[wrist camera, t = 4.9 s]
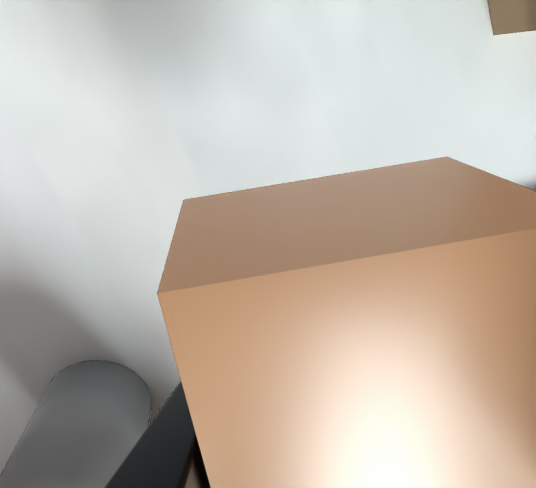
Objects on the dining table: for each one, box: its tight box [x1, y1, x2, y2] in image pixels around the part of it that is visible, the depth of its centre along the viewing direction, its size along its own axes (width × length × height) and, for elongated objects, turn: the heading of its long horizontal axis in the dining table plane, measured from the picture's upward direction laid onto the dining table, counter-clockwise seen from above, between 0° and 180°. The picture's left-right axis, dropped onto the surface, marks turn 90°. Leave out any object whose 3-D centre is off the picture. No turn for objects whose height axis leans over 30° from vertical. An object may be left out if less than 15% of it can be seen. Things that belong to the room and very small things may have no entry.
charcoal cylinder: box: [0, 360, 151, 488], centre depth 18 cm, size 5×5×6 cm
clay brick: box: [157, 157, 536, 488], centre depth 7 cm, size 5×6×3 cm
